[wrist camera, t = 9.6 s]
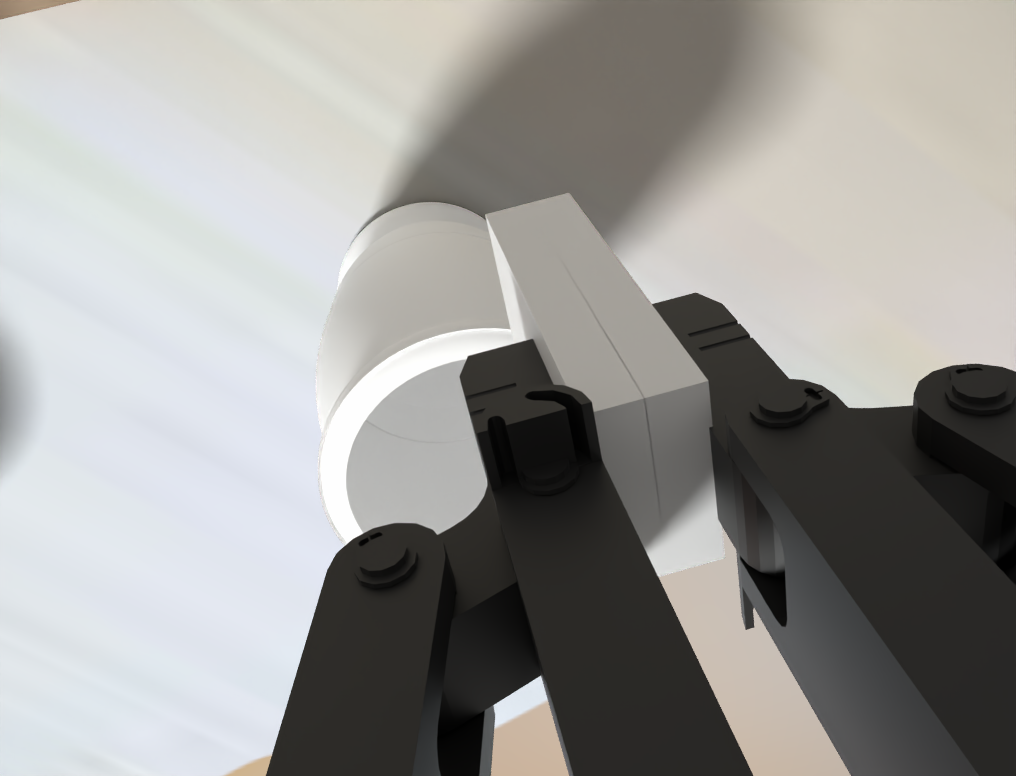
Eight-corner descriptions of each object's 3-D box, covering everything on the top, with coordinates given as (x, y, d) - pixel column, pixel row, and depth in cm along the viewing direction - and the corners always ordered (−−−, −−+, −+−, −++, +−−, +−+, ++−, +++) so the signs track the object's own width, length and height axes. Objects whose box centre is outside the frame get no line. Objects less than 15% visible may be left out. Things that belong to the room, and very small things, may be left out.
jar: (285, 205, 40) (273, 377, 27) (518, 152, 40) (615, 295, 28) (348, 408, 45) (363, 630, 33) (552, 359, 46) (646, 557, 33)
